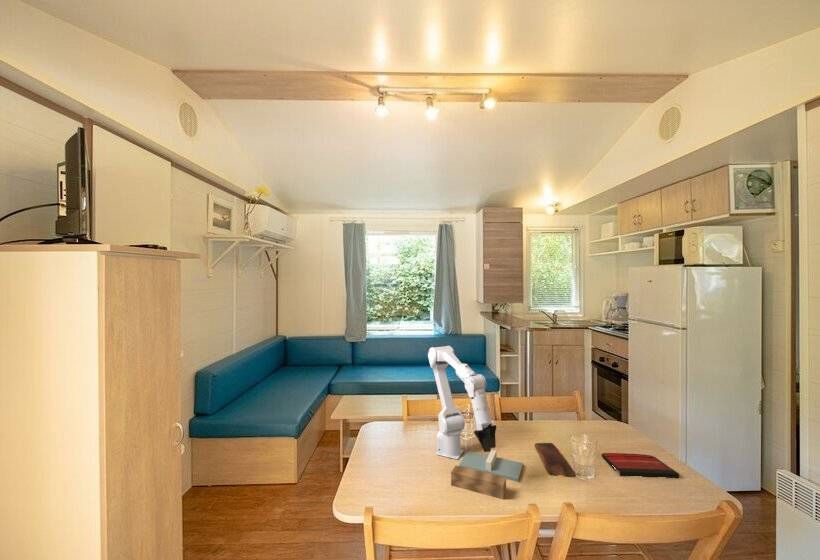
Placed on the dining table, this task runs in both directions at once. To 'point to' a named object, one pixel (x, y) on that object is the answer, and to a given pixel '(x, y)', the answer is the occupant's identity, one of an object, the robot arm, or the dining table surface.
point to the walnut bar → (478, 481)
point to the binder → (639, 465)
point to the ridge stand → (492, 465)
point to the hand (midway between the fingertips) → (490, 449)
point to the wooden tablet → (554, 460)
